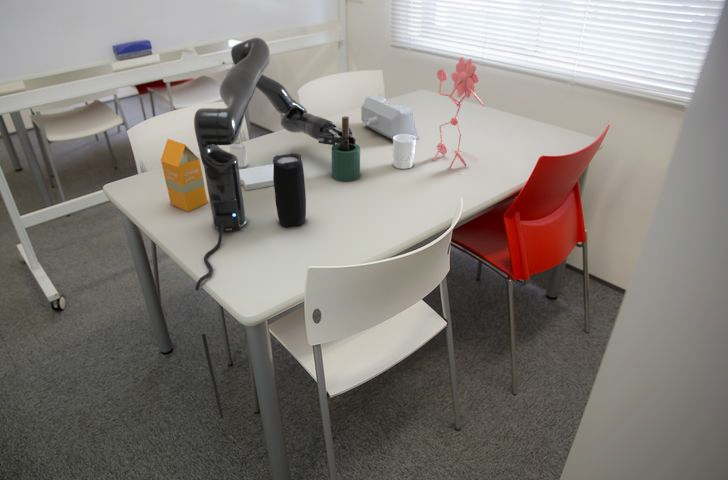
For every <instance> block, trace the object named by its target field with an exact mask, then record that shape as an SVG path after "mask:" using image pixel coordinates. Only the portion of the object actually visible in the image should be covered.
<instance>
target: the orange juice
mask: <svg viewBox="0 0 728 480" xmlns="http://www.w3.org/2000/svg"><path fill="white" fill-rule="evenodd" d="M160 162H161V167H162V171H163V172H162V173H163V176H164V179H165V185H166V189H167V194H168V197H169V198H168V199H169V201H170V204H171V205H172V206H175V207H177V208H179V209H181V210H182V211H183V210H184V211H185V212H190V211H193V210H195V209H197V208H200V207H202V206H203V205H206V204H207V203H208V199H207V193H206V187H205V181H204V180H205V179H204V176H203V170H202V165H201V158H199V157H198V156H197V154H195V153H194V152H193V151H192V150H191V149H190V148H189V147H188V146H187V145H186V144H185V143H182V142H179V141H176V140H173V139H170V138H167V139H166V142H165V145H164V149H163V152H162V155H161V158H160Z"/></svg>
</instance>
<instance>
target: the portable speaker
mask: <svg viewBox="0 0 728 480" xmlns="http://www.w3.org/2000/svg"><path fill="white" fill-rule="evenodd" d="M272 163H273V164H274V166H273V181H274V185H273V190H274V198H275V199H274V200H275V208H276V213H277V218H278V223H279V225H280V226H282V227H284V228H288V226H295V225H297V226H298V227H301V226H303V225H304V224H305V223H306V216H307V195H306V182H305V180H306V179H305V171H304V164H303V160H302V155H301V154H299V153H295V152H291V153H287V154H276V155H275V156H274V157H273V158H272Z"/></svg>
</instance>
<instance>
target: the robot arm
mask: <svg viewBox="0 0 728 480" xmlns="http://www.w3.org/2000/svg"><path fill="white" fill-rule="evenodd" d="M230 55H231V60H232V62H233V63H232V64H233V66H232V67H231V68H230V69H228V71H227V72H226V73H225V75H224V77H223V79H222V81H221V83H220V86H219V95H220V98H221V100H222V102H223V104H224V106H226V107H223V108H222V107H221V108H218V107H213V108H212V107H202V108H199V109H197V110H196V111H195V113H194V117H193V128H194V133H195V134H194V135H195V138H196V142H197V147H198V150H199V155H200V161H201V163H202V166H203V170H204V176H205V181H206V187H207V188H206V189H207V193H208V194H207V195H208V199H209V205H210V210H211V216H212V221H213V227H214V229H216V230H217V232H218V240H217V243H216V245H214V247H213V248H212V249H211V250H209V251H207V252H206V253H205V254H204V258H203V261H204V263H205V266H207V268H208V272H207V273H205V274H204V275H202V276H200V278H199V279H198V280H197V281H196V284H195V287H194V288H195V289H194V290H195V291H198V290H200V287H201V284H202V282H203V281H205V280H206V279H208V278H209V277H211V275H213V271H214V268H213V266H212V264H211V262H209V260H208V259H209V257H210V255H212V254H214V253H215V252H216V251H218V249H219V248H220V246H221V244H222V240H223V235H224V232H236V231H241V229H242V228H243V227H245V226H246V225H247V222H248V221H247V217H246V210H245V203H244V196H243V189H242V187H243V186H242V185H241V180H240V173H239V170H240V167H239V165H238V159H237V157H236V156H235V155H234V154H232V153H230V151H227V150H225V149H223V148H221V147H220V146H230V145H232V144H234V143H235V142H236V141H237V139H238V137H240V134H241V129H242V126H243V122H244V118H245V115H246V112H247V110H248V107H249V104H250V102H251V101H252V98H253V96H254V94H255V91H256V89H257V90H258V91H260V92H261V94H263V95H264V96H265V98H266V99H267V100H268V101H269V103H270V104H271V105H272V107H273V108H274V109H275V110H276V112H278V113H279V114H283V115H282V116H281V117H280V125H281V127H282V128H283V129H285V131H287V132H289V133H295V134H297V133H299V134H306V135H308V136H309V137H310V138H313V139H315V140H317V141H318V142H317V143H318V144H321V145H329V146H333V145H335V144H341V145H344V146H346V147H347V146H349V143H350V144H352V145H354V144H357V143H356V141H357V140H356V137H354V136H353V131H352V129H351V127H349V140H348V139H345V138H343V137H342V127H337V125H336V124H335V122H333V121H332V120H329V119H327V118H324V117H321V116H318V115H315V114H313V113H309V112H308V110H307V108H306V107H305V106H304V105H302V104H300V103H299V102H297V100H295V99H294V98H293V96H291V94H290V92H289V91H288V90H287V88H286V87H285V86H284V85H283V84H282V83H280V82H279V81H277V80H275V79H274V78H272V77H269V76H268V75H265V74H264V72H265V71H266V70H267V68H268V67H269V64H270V61H271V50H270V47H269V45H268V44H267V42H266V40H264V39H263V38H261V37H252V38H249V39H247V40H244V41H242V42H238V43H236V44H235V45H233V46H232V47H231V50H230ZM201 337H202V342H203V343H202V344H203V347H204V352H205V356H206V357H205V358H206V362H207V365H208V370H209V373H210V378H211V382H212V387H213V391H214V395H215V399H216V404H217V408H218V413H219V418H220V420H224V412H223V409H222V403H221V399H220V394H219V390H218V386H217V382H216V378H215V373H214V368H213V364H212V358H211V354H210V350H209V346H208V340H207V335H206V333H202V334H201Z"/></svg>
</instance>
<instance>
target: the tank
mask: <svg viewBox="0 0 728 480" xmlns="http://www.w3.org/2000/svg"><path fill="white" fill-rule="evenodd" d="M386 100H387V99H386V98H385V97H383V96H380V95H378V94H375V95H369V96H366V98H365V99H364V102H363V103H362V105H361V108H360V110H361V112H360V116H361V117H360V119H361V122H362V123H363V124H364V125H365V126H366V127H367V128H369V129H370V130H373V131H375V132H377V133H378V134H380V135H382V136H384V137H385V138H388V139H390V140H392V141H393V137H394V136H396V135H399V134H409V135H413V136H415V137H416V139H418V138H419V135H418V131H417V127H416V123H415V120H414V115H413V112H412V110H411V109H410V108H408V107H406V106H404V105H401V104H397V103H396V104H389V103H385V101H386ZM417 136H418V137H417Z"/></svg>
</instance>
